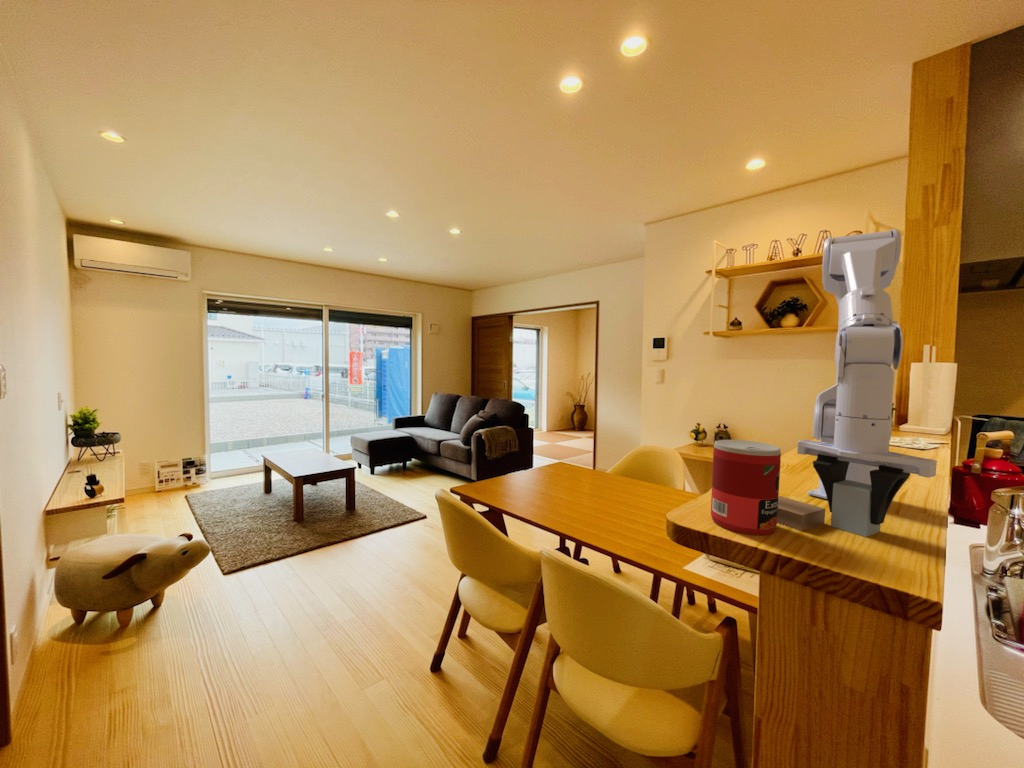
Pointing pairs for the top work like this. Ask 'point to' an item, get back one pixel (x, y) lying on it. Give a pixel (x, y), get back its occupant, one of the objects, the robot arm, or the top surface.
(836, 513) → the grey block
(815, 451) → the robot arm
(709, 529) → the top surface
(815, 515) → the walnut block
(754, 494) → the canned food
